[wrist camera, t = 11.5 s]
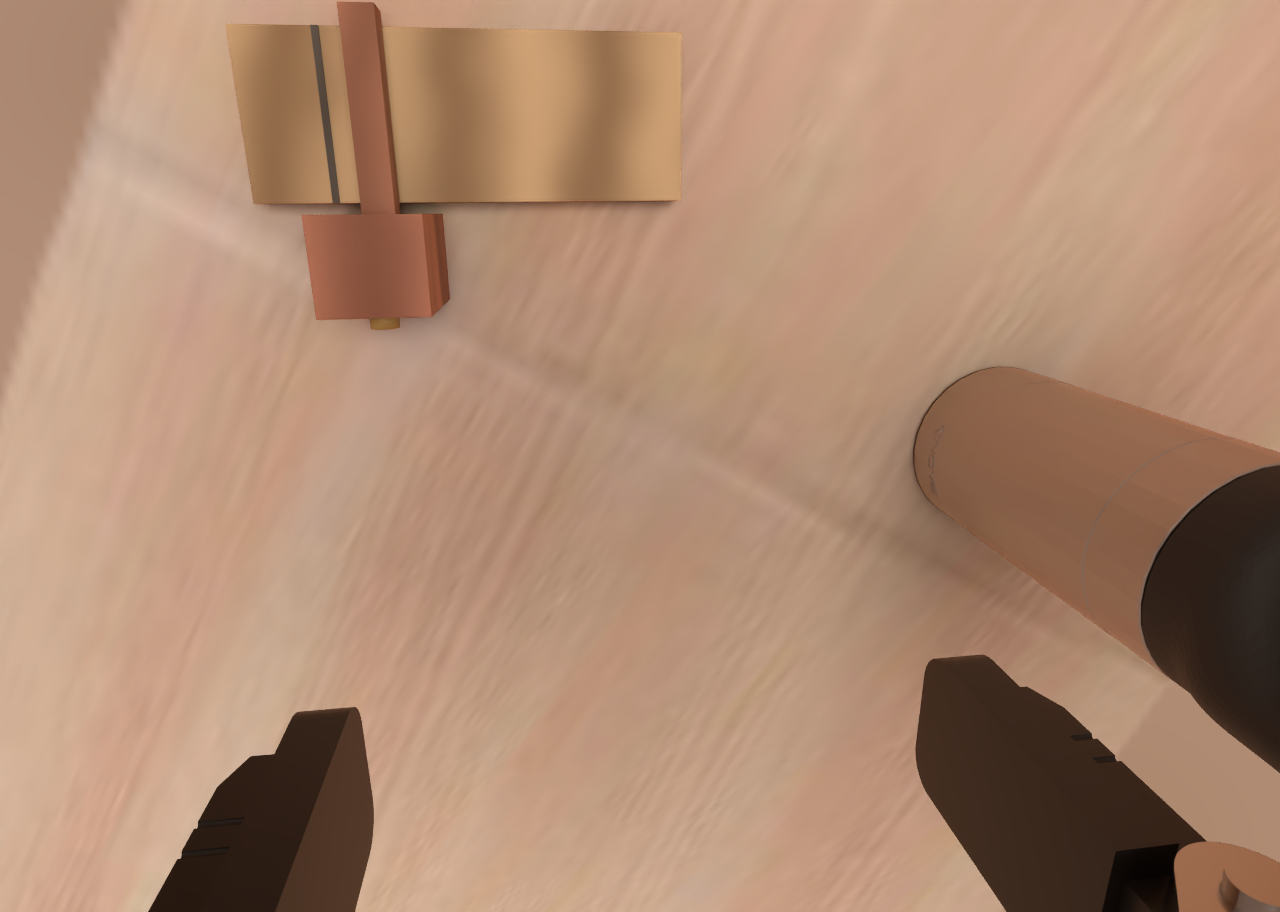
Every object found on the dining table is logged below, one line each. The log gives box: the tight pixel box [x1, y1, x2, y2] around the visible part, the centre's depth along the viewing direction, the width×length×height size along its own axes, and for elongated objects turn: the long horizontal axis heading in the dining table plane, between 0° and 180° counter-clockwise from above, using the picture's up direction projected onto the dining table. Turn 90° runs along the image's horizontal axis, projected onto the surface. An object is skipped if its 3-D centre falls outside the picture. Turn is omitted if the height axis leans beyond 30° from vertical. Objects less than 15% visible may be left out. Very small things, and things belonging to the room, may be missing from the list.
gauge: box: [302, 2, 450, 330], centre depth 32 cm, size 4×13×7 cm, turn 0°
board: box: [226, 24, 682, 204], centre depth 34 cm, size 19×7×2 cm, turn 90°
